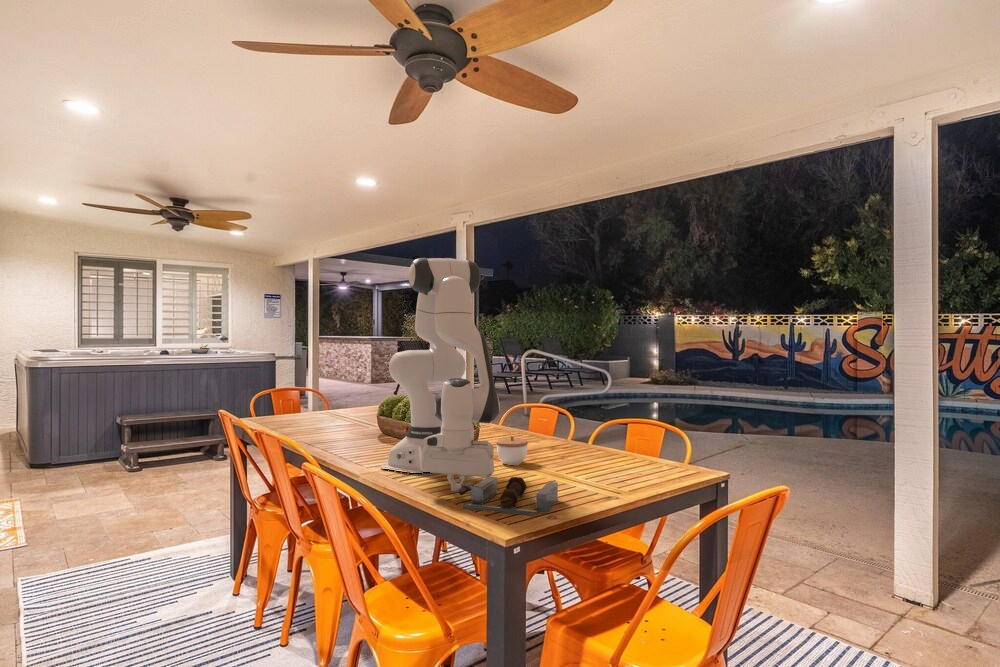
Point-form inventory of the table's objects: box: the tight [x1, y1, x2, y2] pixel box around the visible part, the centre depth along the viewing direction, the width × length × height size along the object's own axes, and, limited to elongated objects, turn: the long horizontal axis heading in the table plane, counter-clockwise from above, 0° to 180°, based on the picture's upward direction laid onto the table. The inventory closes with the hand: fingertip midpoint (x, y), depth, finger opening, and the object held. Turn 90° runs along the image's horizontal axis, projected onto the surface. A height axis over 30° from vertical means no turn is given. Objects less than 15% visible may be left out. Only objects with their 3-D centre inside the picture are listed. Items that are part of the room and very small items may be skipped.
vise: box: [461, 481, 559, 517], centre depth 145 cm, size 21×15×5 cm
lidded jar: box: [495, 435, 529, 466], centre depth 192 cm, size 11×11×9 cm
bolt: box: [499, 476, 528, 508], centre depth 147 cm, size 6×5×15 cm
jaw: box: [457, 476, 498, 505], centre depth 149 cm, size 8×12×4 cm, turn 161°
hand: (457, 490), depth 151 cm, fingers closed
